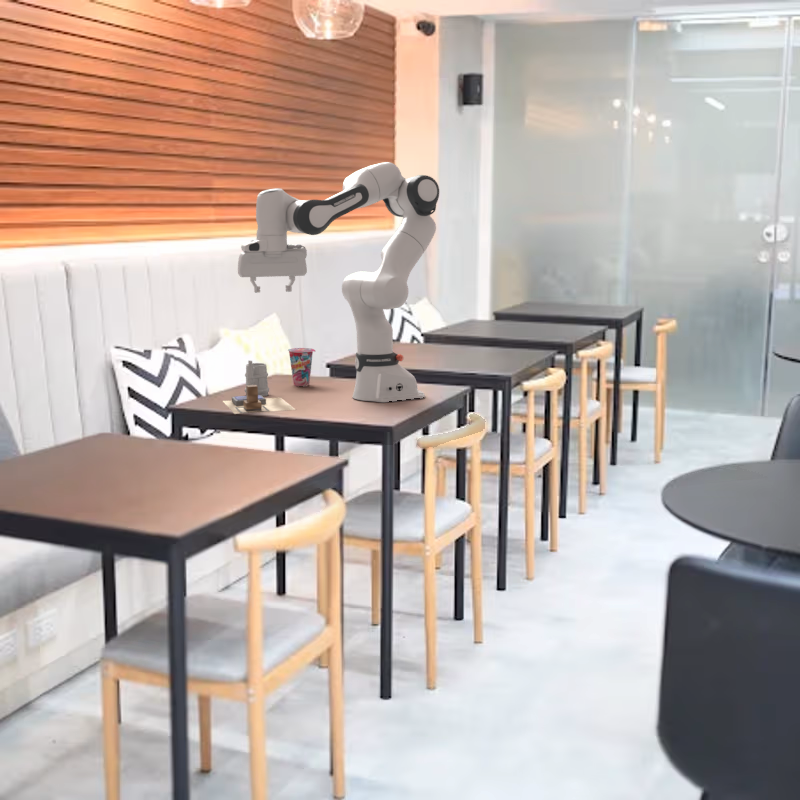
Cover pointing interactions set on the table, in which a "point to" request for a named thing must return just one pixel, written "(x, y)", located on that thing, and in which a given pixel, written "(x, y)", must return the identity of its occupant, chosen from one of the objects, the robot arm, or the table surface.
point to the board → (266, 404)
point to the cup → (301, 365)
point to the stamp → (252, 399)
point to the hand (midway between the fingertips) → (273, 292)
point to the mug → (257, 377)
